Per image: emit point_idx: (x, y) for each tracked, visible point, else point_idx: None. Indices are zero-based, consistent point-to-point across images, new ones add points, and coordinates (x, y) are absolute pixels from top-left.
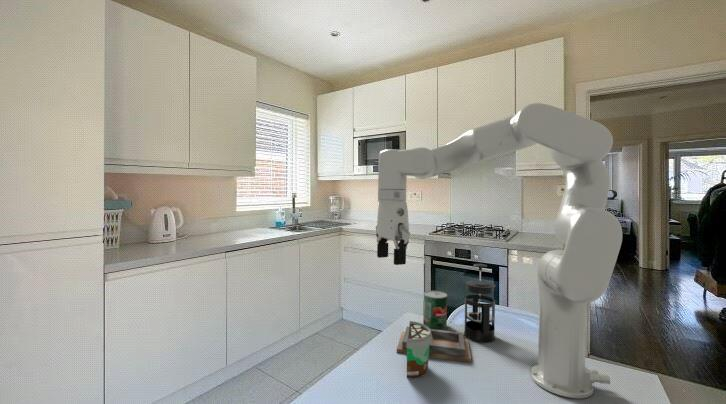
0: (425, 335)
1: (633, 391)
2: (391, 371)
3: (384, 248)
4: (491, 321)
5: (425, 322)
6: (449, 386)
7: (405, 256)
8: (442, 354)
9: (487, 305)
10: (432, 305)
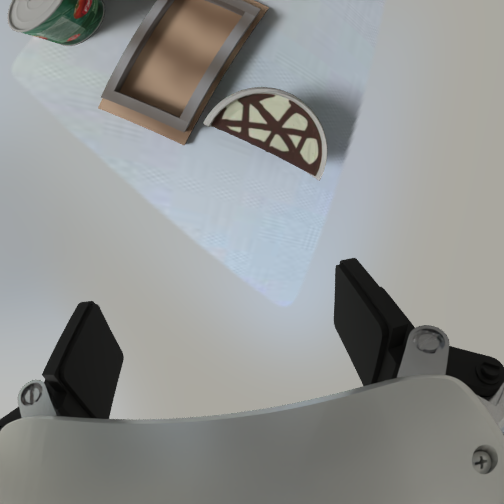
0: (294, 114)
1: None
2: (258, 179)
3: (89, 369)
4: None
5: (74, 40)
6: (332, 96)
7: (375, 285)
8: (235, 52)
9: None
10: (67, 14)
